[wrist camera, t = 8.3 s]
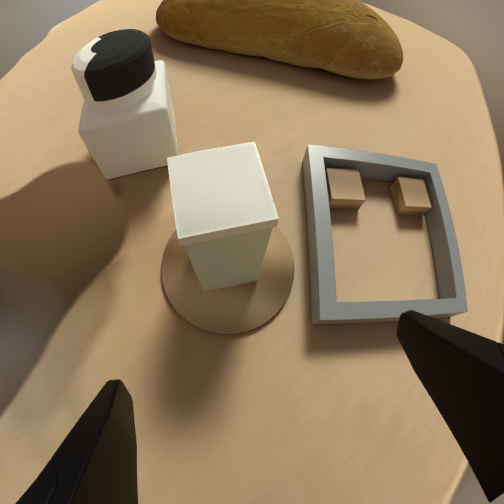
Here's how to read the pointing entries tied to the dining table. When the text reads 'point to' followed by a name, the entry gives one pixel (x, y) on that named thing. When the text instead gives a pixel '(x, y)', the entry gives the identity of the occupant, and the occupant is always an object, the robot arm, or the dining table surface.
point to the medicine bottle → (125, 104)
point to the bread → (290, 32)
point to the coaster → (229, 289)
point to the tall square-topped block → (222, 213)
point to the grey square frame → (322, 244)
